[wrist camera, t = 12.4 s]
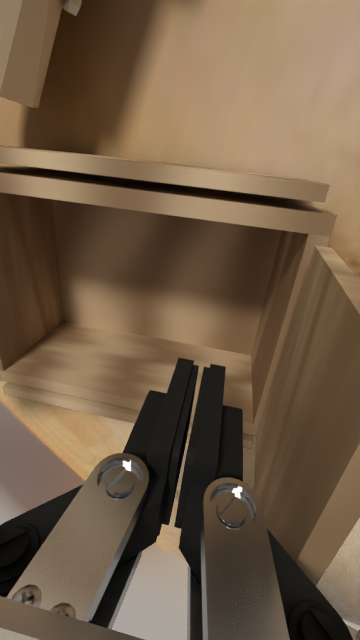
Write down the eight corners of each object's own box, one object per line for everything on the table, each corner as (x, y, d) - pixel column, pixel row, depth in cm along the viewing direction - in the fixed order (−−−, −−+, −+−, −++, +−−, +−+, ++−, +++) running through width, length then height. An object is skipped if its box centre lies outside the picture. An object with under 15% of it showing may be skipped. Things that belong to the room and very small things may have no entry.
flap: (256, 437, 16) (249, 648, 9) (315, 245, 11) (397, 372, 4) (268, 440, 16) (270, 656, 9) (332, 248, 11) (445, 383, 4)
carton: (307, 179, 18) (346, 187, 11) (255, 372, 24) (260, 452, 18) (41, 148, 20) (-65, 139, 13) (59, 335, 26) (-5, 393, 20)
